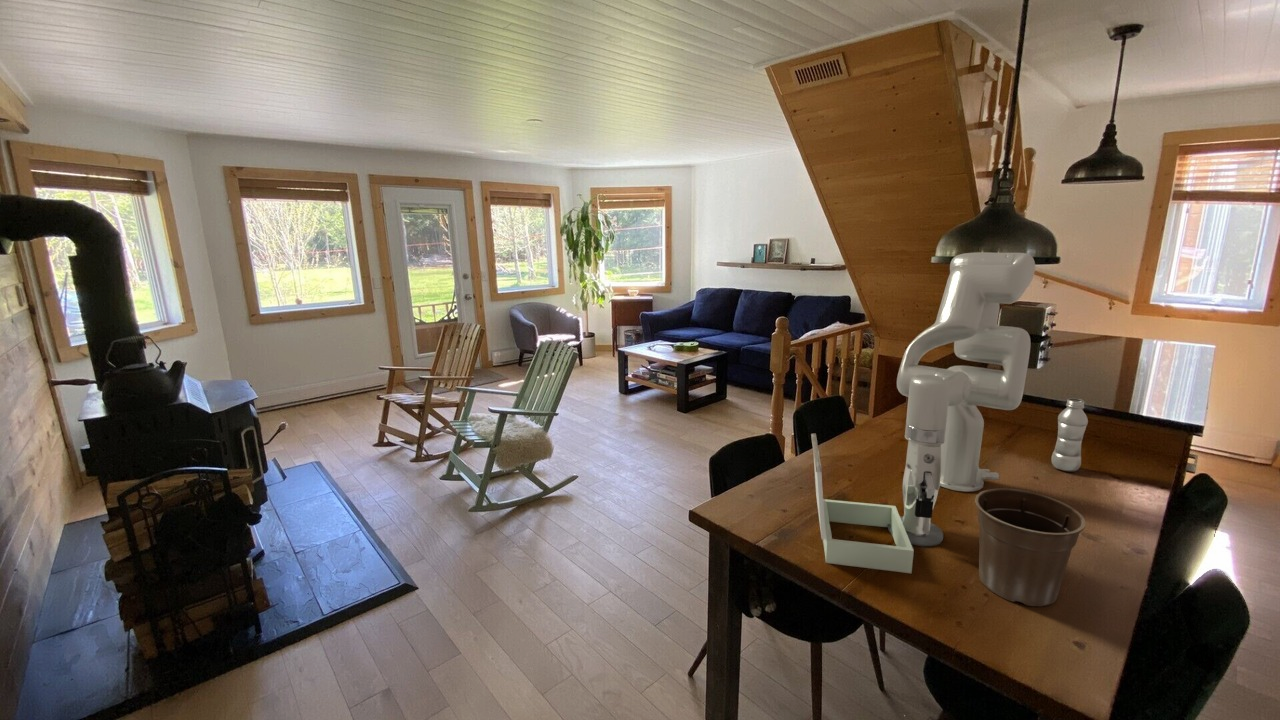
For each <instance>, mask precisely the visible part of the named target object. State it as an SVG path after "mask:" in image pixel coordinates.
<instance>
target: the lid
mask: <svg viewBox="0 0 1280 720" xmlns="http://www.w3.org/2000/svg"><path fill="white" fill-rule="evenodd" d="M810 436H811V437H810V438H811V444H812V451H813V454H812V455H813V466H814V483H815V494H816V503H817V504H816V505H817V506H816V507H817V512H818V514H817V515H818V520H819V528H820V538H821V540H822V541H823V540H826V535H825V520H824V504H823V499H824V493H823V477H822V475H823V474H822V464H821V459H820V451H819V445H818V440H817V439H818V438H817V434H816V433H811V434H810Z"/></svg>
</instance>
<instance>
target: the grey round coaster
mask: <svg viewBox="0 0 1280 720" xmlns="http://www.w3.org/2000/svg"><path fill="white" fill-rule="evenodd" d="M900 518H901V521H902V520H903V516H900ZM930 524H931V534H930V535H928V536H925V537H919V536H914V535H911V534H908V533H907V535H908V538H909V540H910V543H911V545H912V546H917V547H935V546H938V545H940V544H941V543H942V542H943V541H944V531H942V529H941V528H940V527H939V526H937V524H934V523H933V522H931V521H930ZM887 530H888V532H889V534H891V536H893V531H892V528H891V526H890V524H888V527H887Z"/></svg>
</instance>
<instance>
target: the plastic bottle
mask: <svg viewBox="0 0 1280 720" xmlns="http://www.w3.org/2000/svg"><path fill="white" fill-rule="evenodd" d="M1066 401H1067V402H1066V403H1065V406H1066V408H1064V409H1063V410H1062V411H1060V413H1059V414H1058V415H1057V424H1058V425H1057V429H1058V430H1057V437H1056V438H1057V439H1056V443H1055V445H1054V450H1053V451H1052V455H1051V464H1052V466H1053V467H1054V468H1056V469H1057V470H1061V471H1064V472H1077V471H1078V470H1079V469H1080V467H1081V465H1082V454H1081V453H1082V442H1083V440H1084V439H1083V438H1084V435H1085V431H1086V428H1087V426H1088V423H1089V420H1088V416H1087V415H1086V413H1085V412H1084V409H1085V400H1083V399H1080V398H1076V397H1075V398H1072V397H1070V398H1067V400H1066Z"/></svg>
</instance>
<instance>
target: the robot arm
mask: <svg viewBox="0 0 1280 720" xmlns="http://www.w3.org/2000/svg"><path fill="white" fill-rule="evenodd" d="M1035 270H1036V262H1035V260H1034V257H1033V256H1032V255H1031V254H1029V253H1026V252H988V251H987V252H985V251H983V252H982V251H981V252H980V251H979V252H978V251H977V252H976V251H975V252H966V253H961V254H960V253H959V254H957V255H955V256H954V257H953V258H951V261H950V264H949V275H948V277H947V281H946V285H945V288H944V292H943V294H942V298H941V301H940V304H939V309H938V312H937V314H936V319H935V321H934V323H933V324H932V325H930V326H929V327H927V328H926V329H924V330H923V331H922V332H921V333H919V334H917V336H916V337H915V338H913V340H912V341H911V342H910V343H909V344H908V346H907V347H906V349H905V351H904V352H903V353H904V354H903V356H902V359H901V362H900V364H899V365H900V366H899V368H898V373H897V377H896V389H897V390H898V392H899V393H900V394H901V395H902V396H905V397H906V398H908V399H907V406H906V407H907V408H906V409H907V410H906V420H905V429H904V430H905V432H904V438H905V440H907V441H908V442H907V449H906V459H905V464H906V463H908V467H909V468H910V469H911V470H912V479H913V485H914V486H915V487H916V488H917V492H918V499H917V498H916V505H915V516H916V517H923V518H932V517H933V511H934V508H933V502H934V491H935V489H936V490H938V489H939V490H940V488H941V487H942V488H944V489H948V490H951V491H956V492H964V493H965V492H969V493H970V492H977V491H980V490H981V489H983V488H984V481H985V480H991V481H998V480H1000V475H999V472H995V471H994V472H991V471H990V469H989V468H988V469H987V468H980V467H979V465H980V464H979V463H980V458H981V447H982V441H983V433H984V426H985V421H984V418H983V415H982V413H981V411H980V410H979V408H978V406H979V407H985V408H990V409H998V410H1002V411H1003V410H1004V411H1012V410H1013V411H1014V410H1016V409H1017V408H1018V407H1019V406H1020V404H1021V402H1022V399H1023V396H1024V390H1025V385H1026V377H1027V371H1028V367H1029V361H1030V353H1031V336H1030V334H1029V333H1028V331H1027V330H1025V329H1024V328H1021V327H1017V326H1006V325H1005V326H1004V325H999V324H998V319H999V313H1000V309H1001V307H1000V304H1005V305H1006V304H1007V305H1009V304H1013V303H1017V302H1018V301H1019V300H1020V298H1021V297H1022V296H1023V295H1024V293H1025V292H1026V290H1027V288H1028V287H1029V286H1030V284H1031V283H1032V281H1033V278H1034V276H1035ZM951 343H953V352H954V354H955V356H956V357H957V358H959V359H961V360H965V361H969V362H977V363H985V364H991V365H1000V366H1002V368H1003V370H1000V369H994V368H993V369H991V368H985V367H979V366H970V365H953V366H950V367H948V368H941V367H940V368H939V367H936V366H935V367H934V366H927V365H919V362H920V360H921V359H922V357H924V355H926V354H927V353H928V352H929V351H931V350H933V349H935V348H939V347H941V346H945V345H947V344H951ZM923 476H924V481H925V485H926V486H924V485H920V484H921V482H922V480H923ZM921 489H923V490H925V491H926V492H924V493H923V494H922V491H921ZM939 490H938V491H939Z"/></svg>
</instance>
